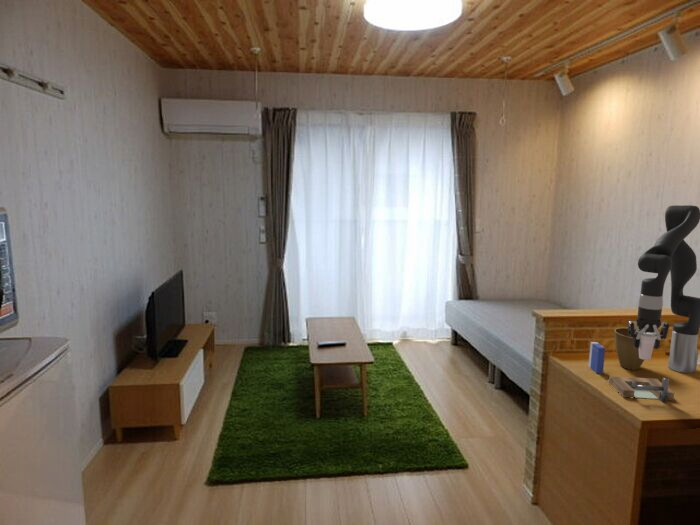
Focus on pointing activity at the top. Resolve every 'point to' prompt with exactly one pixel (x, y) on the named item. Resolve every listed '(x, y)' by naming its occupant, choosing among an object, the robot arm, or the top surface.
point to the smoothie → (646, 345)
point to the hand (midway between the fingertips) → (645, 348)
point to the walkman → (596, 357)
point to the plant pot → (627, 349)
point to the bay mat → (644, 394)
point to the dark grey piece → (655, 388)
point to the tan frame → (625, 384)
